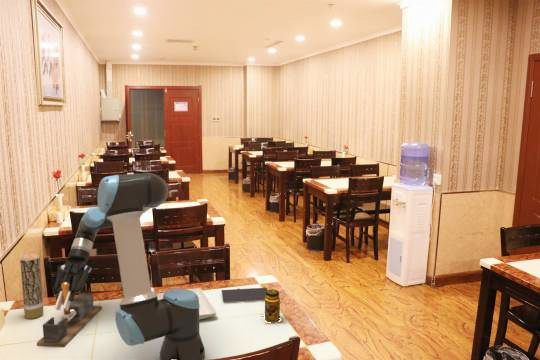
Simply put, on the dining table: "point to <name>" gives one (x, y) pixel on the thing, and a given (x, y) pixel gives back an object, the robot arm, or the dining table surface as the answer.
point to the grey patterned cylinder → (31, 285)
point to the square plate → (205, 306)
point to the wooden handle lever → (70, 312)
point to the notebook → (244, 295)
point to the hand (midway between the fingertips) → (61, 309)
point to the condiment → (272, 306)
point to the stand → (67, 331)
